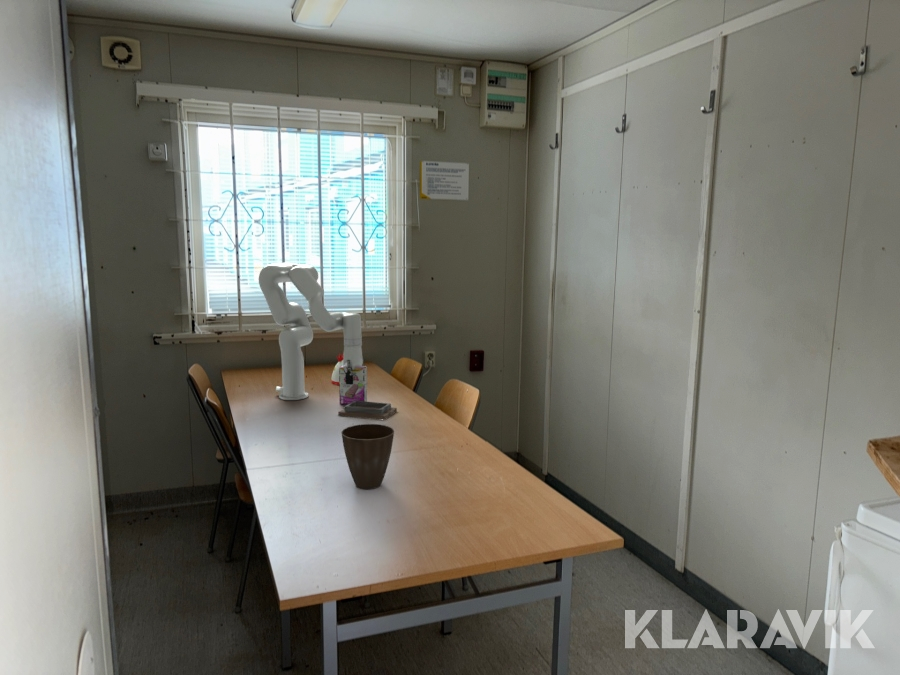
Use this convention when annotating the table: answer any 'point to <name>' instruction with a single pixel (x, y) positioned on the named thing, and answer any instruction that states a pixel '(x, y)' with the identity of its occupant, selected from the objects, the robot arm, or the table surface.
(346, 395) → the candy bar box
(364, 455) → the plant pot
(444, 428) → the table surface
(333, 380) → the kitchen timer
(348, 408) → the stand
